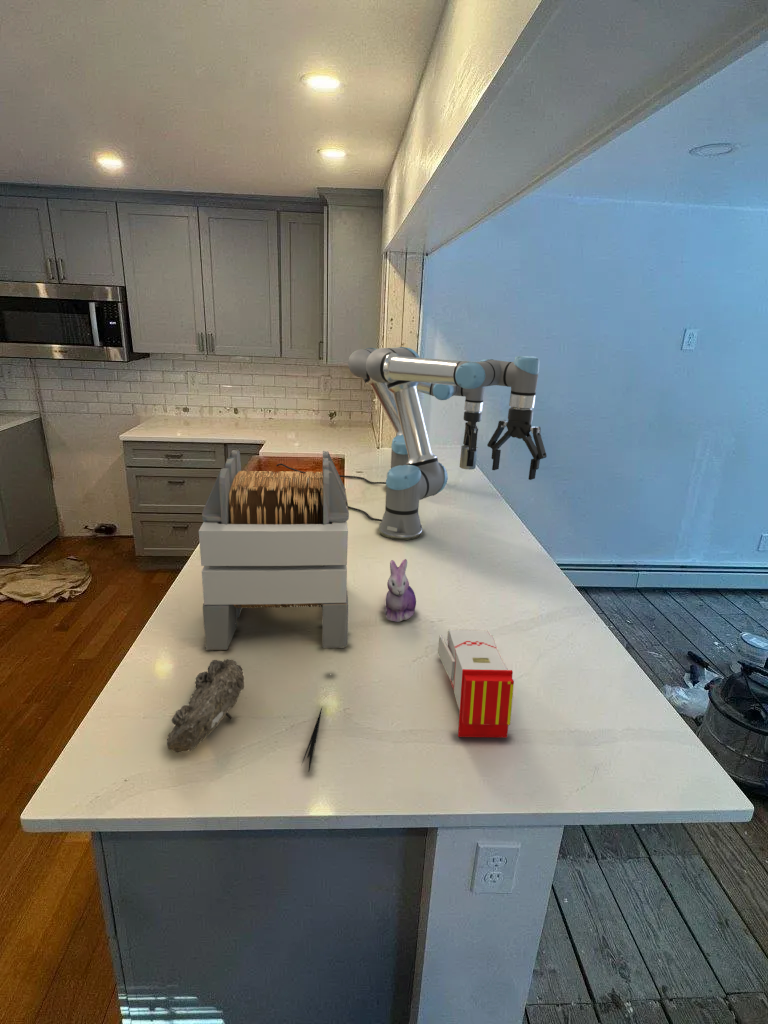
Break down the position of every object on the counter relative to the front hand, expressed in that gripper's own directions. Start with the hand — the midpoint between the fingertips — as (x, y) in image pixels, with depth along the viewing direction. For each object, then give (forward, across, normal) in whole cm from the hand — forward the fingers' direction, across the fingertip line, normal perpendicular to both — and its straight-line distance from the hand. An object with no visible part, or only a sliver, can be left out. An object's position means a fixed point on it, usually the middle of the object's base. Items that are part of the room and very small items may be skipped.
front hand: (513, 474), depth 182 cm
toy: (+26, -38, +71) cm, 84 cm away
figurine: (+26, -6, +58) cm, 64 cm away
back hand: (+14, +49, -44) cm, 67 cm away
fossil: (+26, -9, +114) cm, 117 cm away
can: (+16, +49, -44) cm, 68 cm away
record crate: (+26, +14, +81) cm, 86 cm away
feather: (+26, -23, +99) cm, 105 cm away
